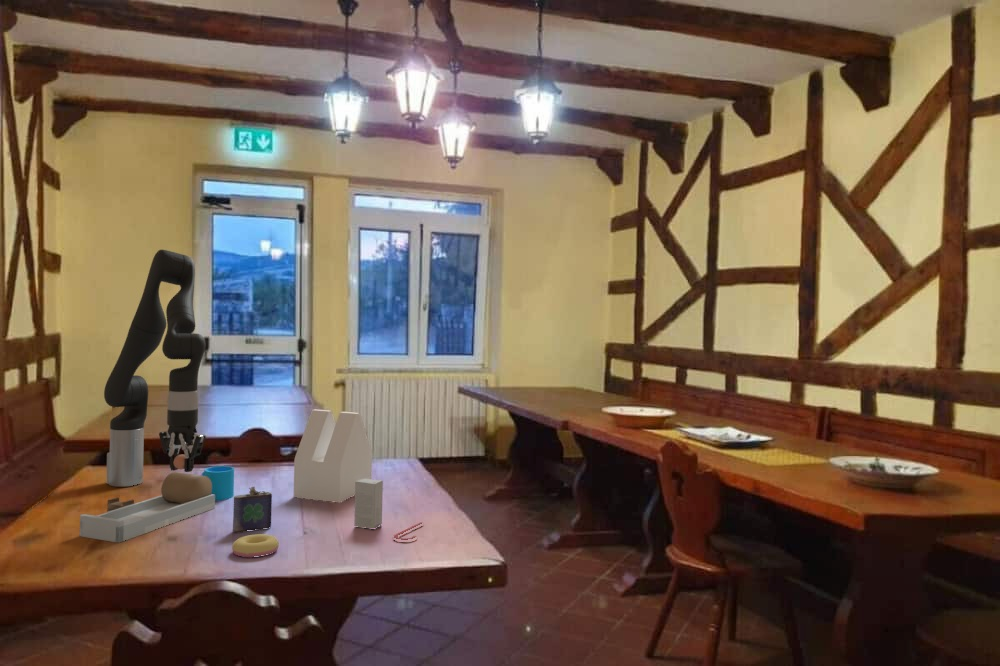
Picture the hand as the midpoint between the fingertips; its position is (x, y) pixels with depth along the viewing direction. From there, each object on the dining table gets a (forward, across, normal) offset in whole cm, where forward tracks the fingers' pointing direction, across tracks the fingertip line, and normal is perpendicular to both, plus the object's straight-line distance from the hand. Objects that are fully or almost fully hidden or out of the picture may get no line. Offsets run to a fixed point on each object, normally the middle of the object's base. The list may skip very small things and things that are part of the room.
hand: (181, 470), depth 190 cm
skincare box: (+11, -52, -9) cm, 54 cm away
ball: (-2, 0, 0) cm, 2 cm away
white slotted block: (+12, -26, -35) cm, 45 cm away
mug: (+11, +3, -17) cm, 20 cm away
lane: (+11, 0, +9) cm, 15 cm away
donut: (+12, -38, +18) cm, 44 cm away
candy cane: (+12, -65, -8) cm, 66 cm away
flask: (+11, -27, +5) cm, 30 cm away
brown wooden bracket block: (+11, +13, +7) cm, 19 cm away
